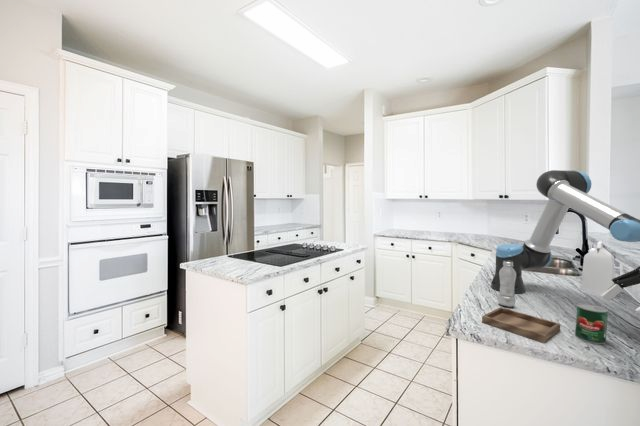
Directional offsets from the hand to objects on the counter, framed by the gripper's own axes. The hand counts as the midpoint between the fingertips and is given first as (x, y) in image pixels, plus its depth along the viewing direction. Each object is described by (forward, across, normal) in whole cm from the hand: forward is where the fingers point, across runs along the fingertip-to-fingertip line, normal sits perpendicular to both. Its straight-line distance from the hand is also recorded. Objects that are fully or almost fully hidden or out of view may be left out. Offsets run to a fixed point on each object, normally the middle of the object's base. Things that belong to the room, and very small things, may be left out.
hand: (620, 305), depth 99 cm
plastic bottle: (+24, +29, +7) cm, 39 cm away
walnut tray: (+28, +7, +11) cm, 30 cm away
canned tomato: (+14, +1, -3) cm, 15 cm away
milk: (-15, +58, -33) cm, 68 cm away
